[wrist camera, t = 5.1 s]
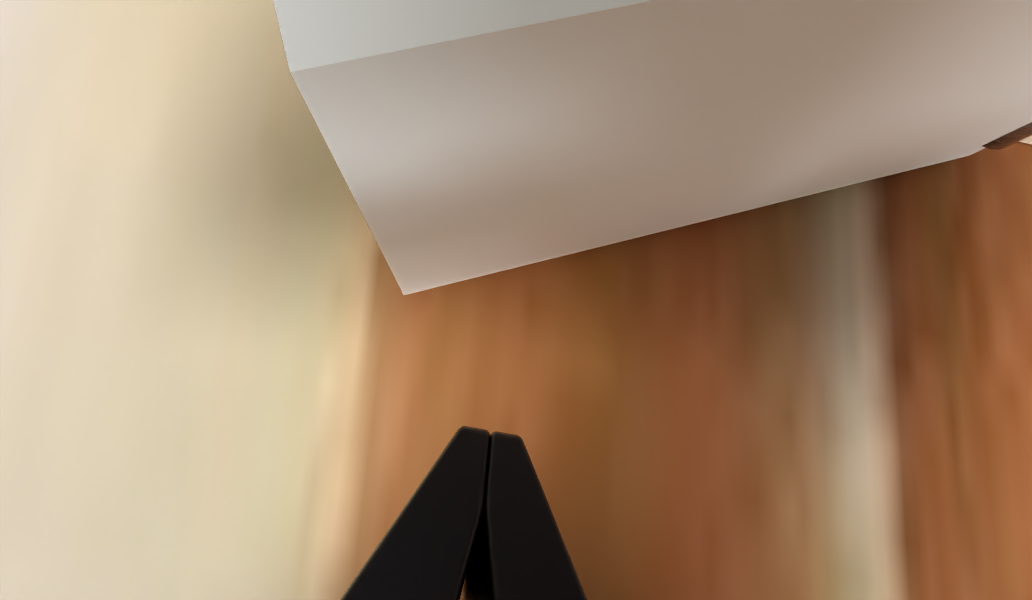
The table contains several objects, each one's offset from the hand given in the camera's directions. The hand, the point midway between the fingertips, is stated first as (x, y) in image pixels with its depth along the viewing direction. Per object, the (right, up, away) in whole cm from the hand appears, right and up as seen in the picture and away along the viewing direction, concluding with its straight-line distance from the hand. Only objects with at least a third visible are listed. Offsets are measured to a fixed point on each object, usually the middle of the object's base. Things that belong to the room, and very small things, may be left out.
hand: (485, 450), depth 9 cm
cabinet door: (+6, +5, +8) cm, 11 cm away
